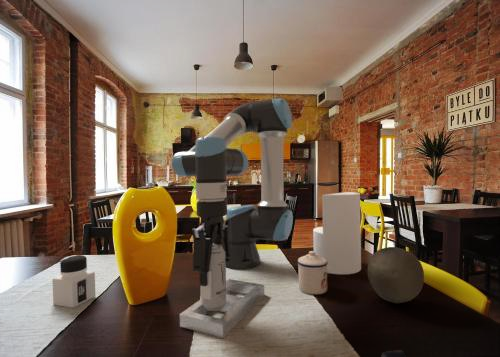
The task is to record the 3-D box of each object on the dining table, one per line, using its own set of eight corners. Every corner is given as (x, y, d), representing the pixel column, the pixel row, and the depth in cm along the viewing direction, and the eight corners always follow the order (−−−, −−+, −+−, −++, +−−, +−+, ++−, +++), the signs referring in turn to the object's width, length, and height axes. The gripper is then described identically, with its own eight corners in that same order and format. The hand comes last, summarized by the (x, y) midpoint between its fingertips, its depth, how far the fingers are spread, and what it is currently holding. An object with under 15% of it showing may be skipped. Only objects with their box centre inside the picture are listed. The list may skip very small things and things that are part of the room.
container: (96, 296, 85) (94, 254, 85) (72, 308, 78) (71, 262, 78) (77, 293, 88) (75, 252, 87) (52, 305, 80) (51, 259, 80)
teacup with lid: (328, 296, 82) (327, 256, 81) (297, 294, 84) (296, 255, 84) (327, 281, 93) (326, 246, 93) (299, 279, 95) (298, 245, 95)
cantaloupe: (360, 291, 84) (359, 242, 84) (408, 291, 84) (408, 241, 83) (379, 315, 70) (378, 256, 70) (437, 316, 69) (436, 255, 69)
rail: (229, 288, 89) (229, 279, 89) (264, 294, 84) (264, 284, 84) (179, 326, 67) (179, 314, 67) (223, 338, 62) (222, 324, 62)
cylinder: (369, 266, 107) (368, 192, 106) (344, 278, 95) (343, 196, 95) (330, 256, 120) (329, 191, 119) (304, 266, 109) (303, 193, 108)
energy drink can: (222, 312, 66) (221, 249, 66) (198, 311, 67) (197, 248, 67) (228, 301, 72) (227, 243, 72) (206, 299, 73) (205, 242, 73)
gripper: (202, 204, 59) (204, 312, 60) (242, 197, 77) (244, 281, 77) (174, 203, 63) (176, 306, 63) (219, 196, 80) (220, 277, 80)
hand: (213, 292), depth 70 cm, fingers closed on energy drink can, 6 cm apart
